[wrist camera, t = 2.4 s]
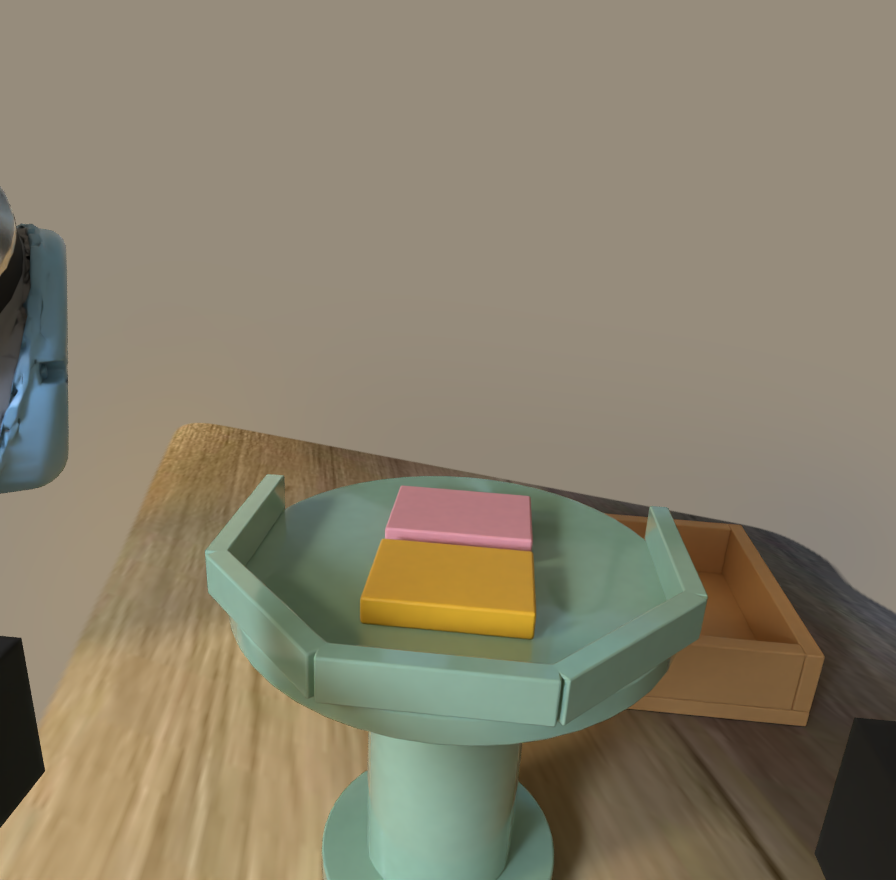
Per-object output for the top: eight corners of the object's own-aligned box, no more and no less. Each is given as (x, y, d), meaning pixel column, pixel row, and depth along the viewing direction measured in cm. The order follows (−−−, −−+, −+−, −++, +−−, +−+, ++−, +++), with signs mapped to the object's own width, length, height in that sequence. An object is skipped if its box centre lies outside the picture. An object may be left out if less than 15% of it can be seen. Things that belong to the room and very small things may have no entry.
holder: (374, 684, 34) (375, 614, 33) (410, 552, 46) (412, 496, 45) (806, 727, 33) (826, 656, 32) (729, 580, 45) (741, 524, 43)
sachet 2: (359, 624, 19) (359, 597, 18) (380, 561, 22) (381, 537, 21) (534, 641, 18) (536, 613, 18) (530, 574, 21) (533, 550, 21)
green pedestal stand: (178, 1038, 20) (131, 639, 16) (304, 710, 32) (299, 433, 28) (658, 1102, 19) (757, 701, 15) (602, 741, 31) (647, 461, 27)
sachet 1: (384, 551, 22) (384, 527, 22) (399, 505, 25) (400, 484, 25) (530, 564, 22) (533, 540, 22) (528, 516, 25) (530, 495, 25)
